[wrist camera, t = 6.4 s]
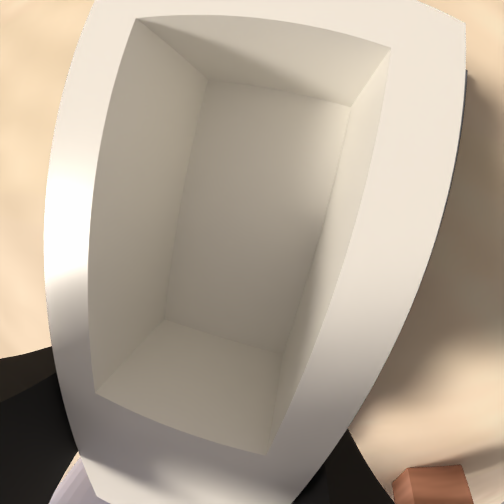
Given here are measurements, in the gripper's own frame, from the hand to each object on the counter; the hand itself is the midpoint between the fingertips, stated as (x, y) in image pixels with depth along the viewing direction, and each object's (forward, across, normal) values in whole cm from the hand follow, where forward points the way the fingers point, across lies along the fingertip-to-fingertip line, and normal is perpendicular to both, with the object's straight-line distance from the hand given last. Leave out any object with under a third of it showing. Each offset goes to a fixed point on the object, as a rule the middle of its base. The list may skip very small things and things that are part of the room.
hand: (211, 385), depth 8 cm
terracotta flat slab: (+4, -15, +9) cm, 18 cm away
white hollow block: (+2, 0, -2) cm, 3 cm away
